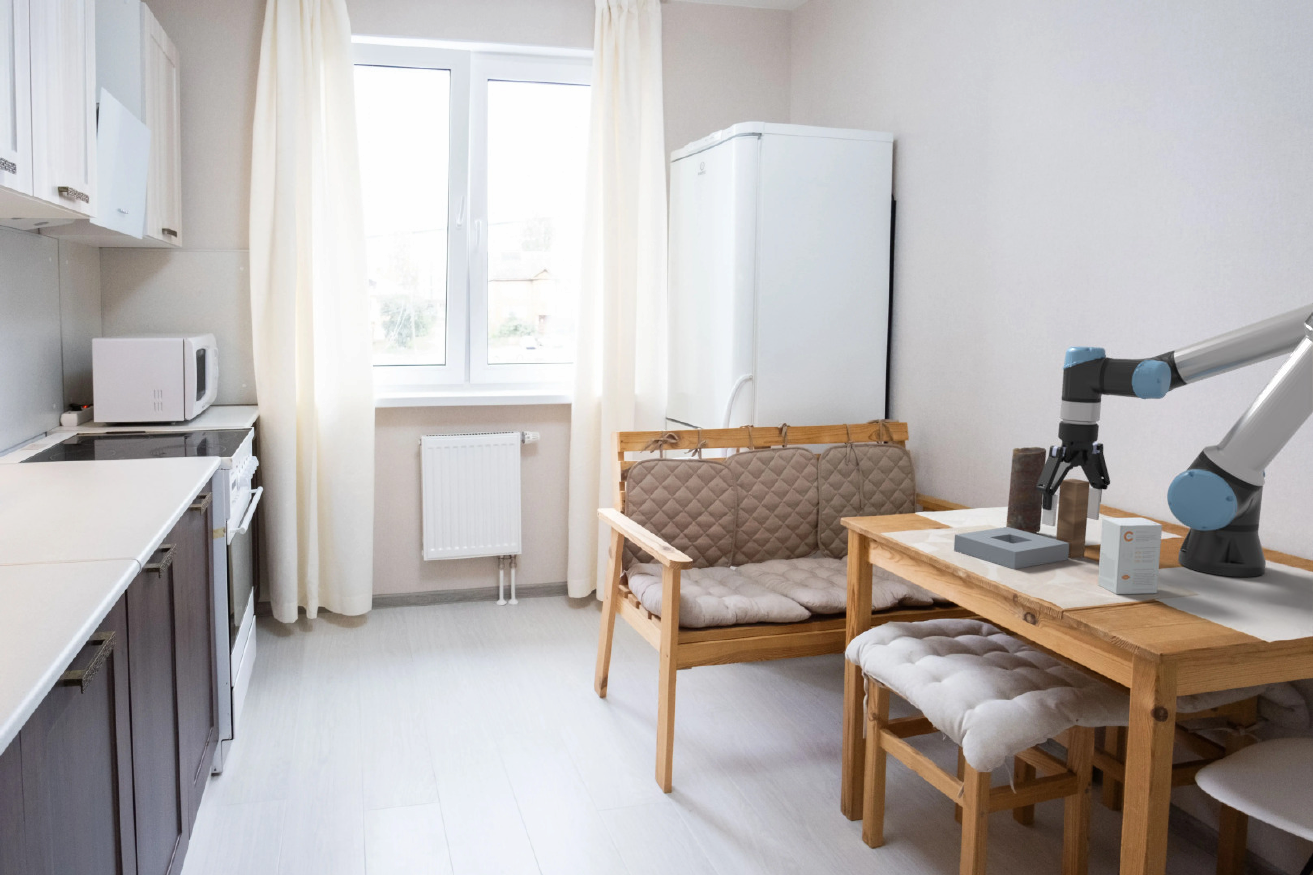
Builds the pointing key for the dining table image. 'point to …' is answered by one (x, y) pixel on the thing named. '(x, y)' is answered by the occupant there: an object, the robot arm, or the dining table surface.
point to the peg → (1073, 515)
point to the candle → (1026, 489)
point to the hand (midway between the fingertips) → (1070, 521)
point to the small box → (1129, 555)
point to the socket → (1011, 547)
